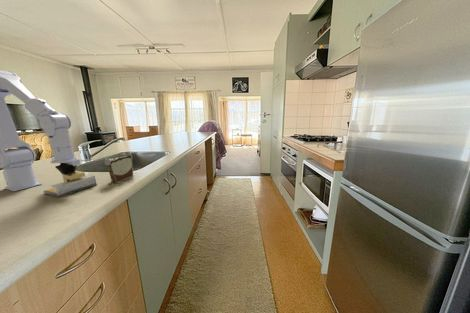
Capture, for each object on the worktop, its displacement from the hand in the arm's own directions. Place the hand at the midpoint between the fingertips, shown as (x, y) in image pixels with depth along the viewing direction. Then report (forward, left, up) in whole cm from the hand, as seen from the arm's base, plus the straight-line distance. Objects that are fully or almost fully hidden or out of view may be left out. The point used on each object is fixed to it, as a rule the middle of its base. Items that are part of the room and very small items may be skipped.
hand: (70, 181), depth 70 cm
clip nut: (+3, 0, -1) cm, 3 cm away
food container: (+9, +13, -2) cm, 16 cm away
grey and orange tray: (+2, -1, -2) cm, 3 cm away
